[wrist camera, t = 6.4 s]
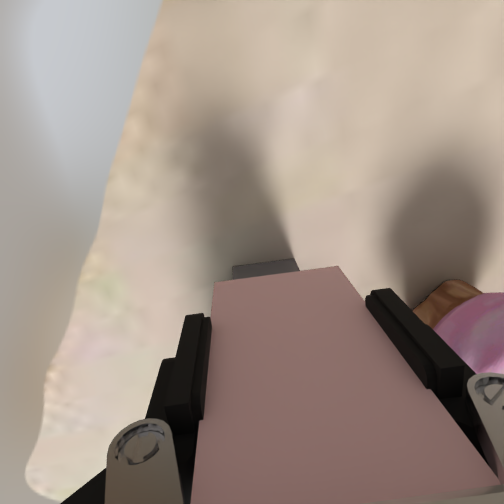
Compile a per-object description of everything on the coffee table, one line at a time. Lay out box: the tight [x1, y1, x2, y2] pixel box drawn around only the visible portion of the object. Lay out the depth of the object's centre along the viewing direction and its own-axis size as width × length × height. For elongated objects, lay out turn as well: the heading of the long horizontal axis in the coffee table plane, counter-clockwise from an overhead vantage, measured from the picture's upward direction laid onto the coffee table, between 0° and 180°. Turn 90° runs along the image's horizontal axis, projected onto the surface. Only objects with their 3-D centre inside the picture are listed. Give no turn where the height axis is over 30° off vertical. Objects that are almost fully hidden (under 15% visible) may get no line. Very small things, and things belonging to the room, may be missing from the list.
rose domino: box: [190, 266, 501, 504], centre depth 10 cm, size 2×5×10 cm, turn 97°
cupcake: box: [413, 280, 504, 374], centre depth 26 cm, size 9×9×10 cm
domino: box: [233, 259, 300, 280], centre depth 24 cm, size 2×5×10 cm, turn 97°
